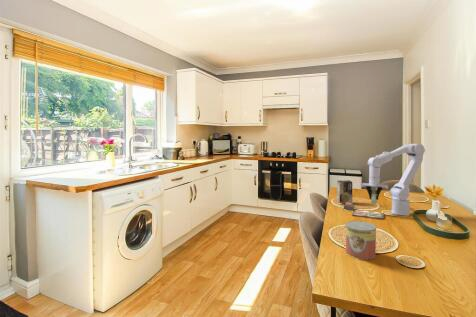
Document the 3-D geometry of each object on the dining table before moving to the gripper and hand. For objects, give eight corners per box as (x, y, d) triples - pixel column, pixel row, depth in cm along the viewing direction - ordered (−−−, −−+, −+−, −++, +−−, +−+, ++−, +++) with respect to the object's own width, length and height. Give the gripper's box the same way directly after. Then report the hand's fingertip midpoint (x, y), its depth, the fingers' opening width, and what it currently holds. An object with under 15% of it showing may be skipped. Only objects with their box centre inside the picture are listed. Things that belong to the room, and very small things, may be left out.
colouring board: (383, 214, 162) (383, 212, 161) (383, 219, 151) (383, 217, 151) (354, 210, 170) (354, 209, 170) (352, 215, 159) (352, 214, 159)
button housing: (354, 208, 175) (354, 204, 175) (353, 210, 170) (353, 206, 170) (344, 207, 178) (344, 203, 178) (343, 209, 173) (343, 205, 173)
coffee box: (349, 202, 192) (349, 180, 191) (352, 204, 186) (352, 181, 185) (336, 201, 193) (336, 180, 192) (339, 204, 187) (339, 181, 186)
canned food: (342, 255, 108) (342, 226, 107) (349, 245, 117) (350, 219, 116) (372, 262, 101) (373, 232, 100) (378, 252, 110) (378, 224, 109)
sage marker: (377, 202, 162) (377, 189, 162) (376, 203, 159) (377, 190, 159) (370, 201, 164) (371, 189, 163) (370, 203, 161) (370, 190, 160)
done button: (352, 206, 175) (352, 203, 175) (351, 207, 172) (351, 204, 172) (346, 205, 176) (346, 202, 176) (346, 206, 174) (346, 203, 173)
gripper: (360, 177, 161) (360, 199, 162) (387, 178, 153) (387, 201, 154) (361, 175, 167) (361, 196, 168) (388, 177, 159) (387, 199, 160)
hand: (373, 199), depth 161 cm, fingers closed on sage marker, 3 cm apart
